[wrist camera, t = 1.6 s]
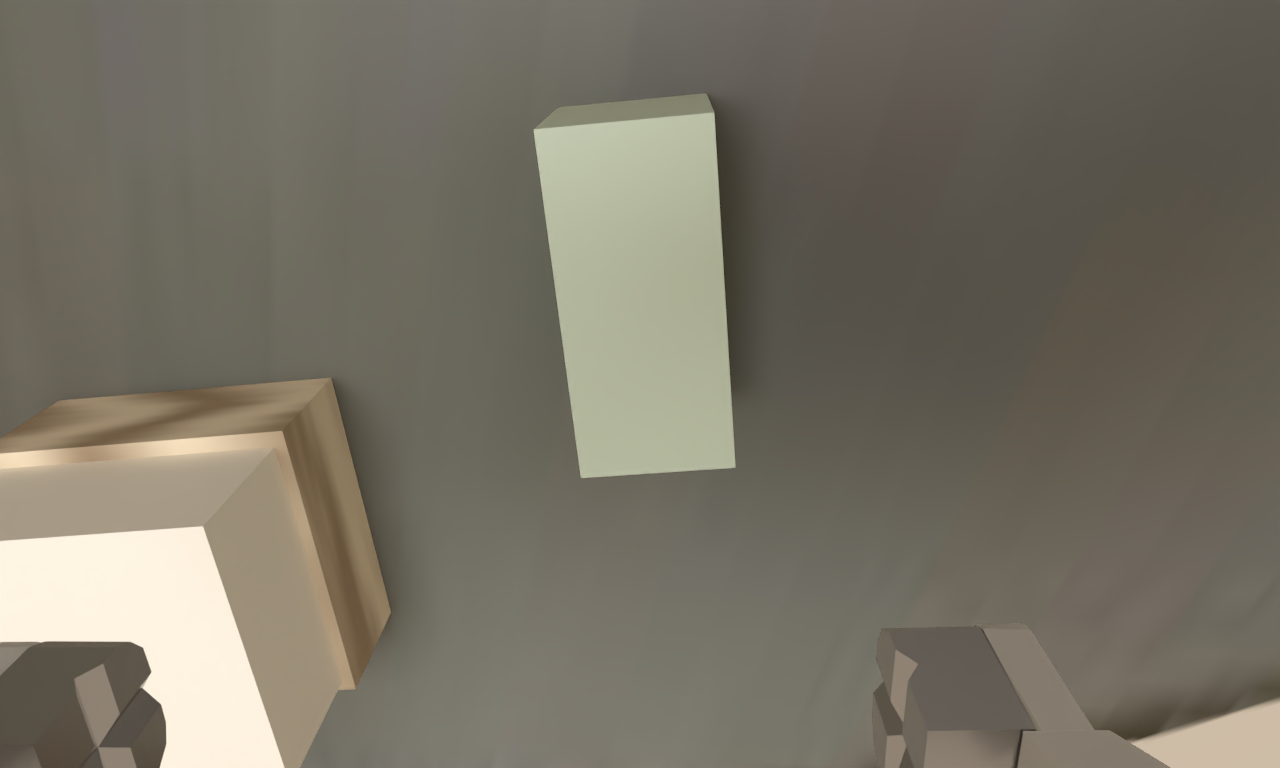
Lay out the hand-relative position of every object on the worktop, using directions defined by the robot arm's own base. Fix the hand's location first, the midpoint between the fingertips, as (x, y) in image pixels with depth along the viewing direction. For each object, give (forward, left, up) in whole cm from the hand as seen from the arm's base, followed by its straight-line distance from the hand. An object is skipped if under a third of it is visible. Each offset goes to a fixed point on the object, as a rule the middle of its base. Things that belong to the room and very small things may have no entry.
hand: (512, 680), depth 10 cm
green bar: (-1, +2, -24) cm, 24 cm away
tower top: (+17, +11, -19) cm, 28 cm away
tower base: (+17, +11, -24) cm, 31 cm away
